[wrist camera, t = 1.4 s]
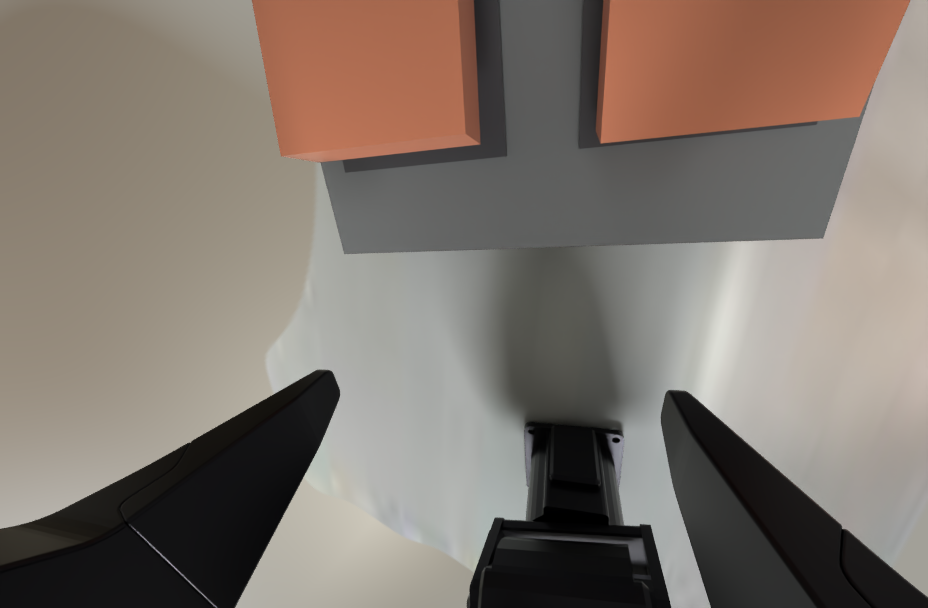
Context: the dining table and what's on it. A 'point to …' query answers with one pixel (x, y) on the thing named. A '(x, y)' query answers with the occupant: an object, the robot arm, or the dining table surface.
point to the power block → (582, 161)
